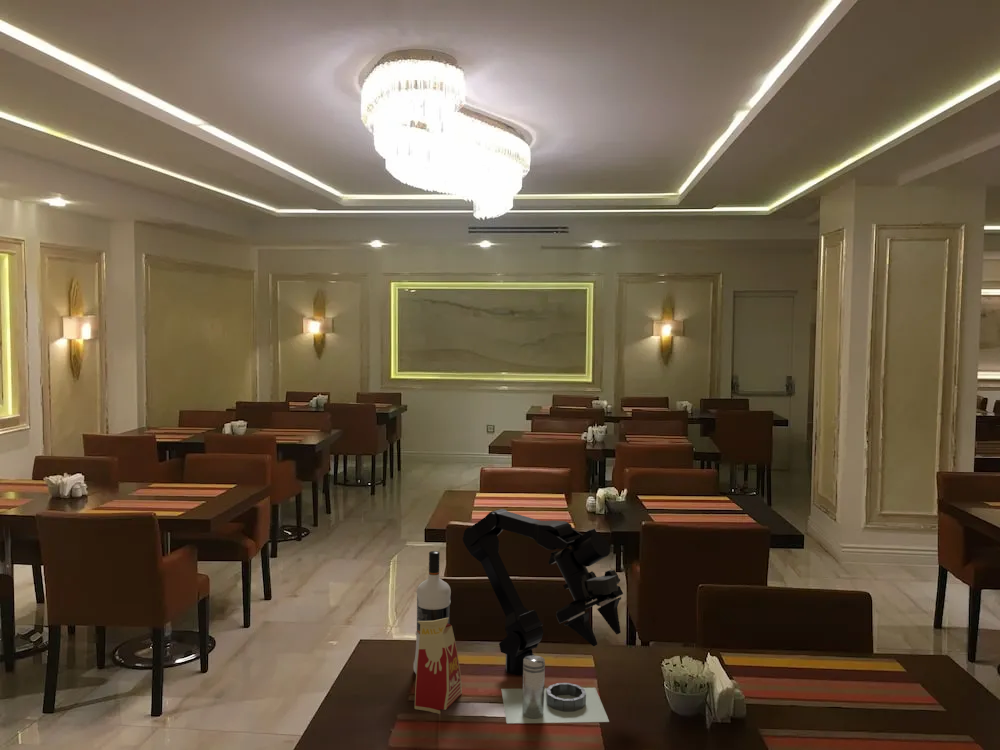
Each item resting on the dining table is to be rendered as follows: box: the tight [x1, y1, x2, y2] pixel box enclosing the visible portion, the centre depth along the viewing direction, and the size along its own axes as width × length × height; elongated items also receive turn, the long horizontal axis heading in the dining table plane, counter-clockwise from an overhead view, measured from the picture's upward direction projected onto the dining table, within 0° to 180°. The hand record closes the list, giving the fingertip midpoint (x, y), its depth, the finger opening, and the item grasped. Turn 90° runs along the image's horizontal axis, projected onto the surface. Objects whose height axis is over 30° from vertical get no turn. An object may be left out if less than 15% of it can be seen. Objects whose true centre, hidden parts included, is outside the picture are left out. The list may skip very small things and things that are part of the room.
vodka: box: [412, 550, 452, 674], centre depth 196 cm, size 9×9×30 cm
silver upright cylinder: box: [522, 654, 546, 719], centre depth 174 cm, size 5×5×12 cm
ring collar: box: [546, 682, 586, 712], centre depth 180 cm, size 9×9×2 cm
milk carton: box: [414, 616, 463, 715], centre depth 181 cm, size 9×9×20 cm
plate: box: [500, 687, 610, 725], centre depth 179 cm, size 22×16×1 cm
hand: (607, 639), depth 179 cm, fingers open, 9 cm apart
